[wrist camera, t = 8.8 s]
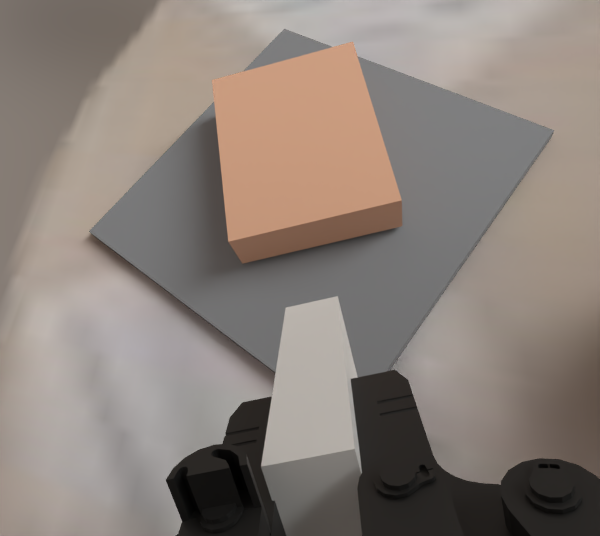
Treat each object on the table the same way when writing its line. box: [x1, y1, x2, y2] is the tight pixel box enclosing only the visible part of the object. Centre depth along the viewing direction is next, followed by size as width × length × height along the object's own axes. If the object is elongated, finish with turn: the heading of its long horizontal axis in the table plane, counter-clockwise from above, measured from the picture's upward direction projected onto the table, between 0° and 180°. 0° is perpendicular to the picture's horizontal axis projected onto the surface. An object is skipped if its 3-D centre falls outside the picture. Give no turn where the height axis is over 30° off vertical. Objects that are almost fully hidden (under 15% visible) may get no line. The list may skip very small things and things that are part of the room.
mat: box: [89, 29, 554, 377], centre depth 30 cm, size 20×20×1 cm
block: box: [212, 42, 402, 264], centre depth 29 cm, size 3×9×12 cm
